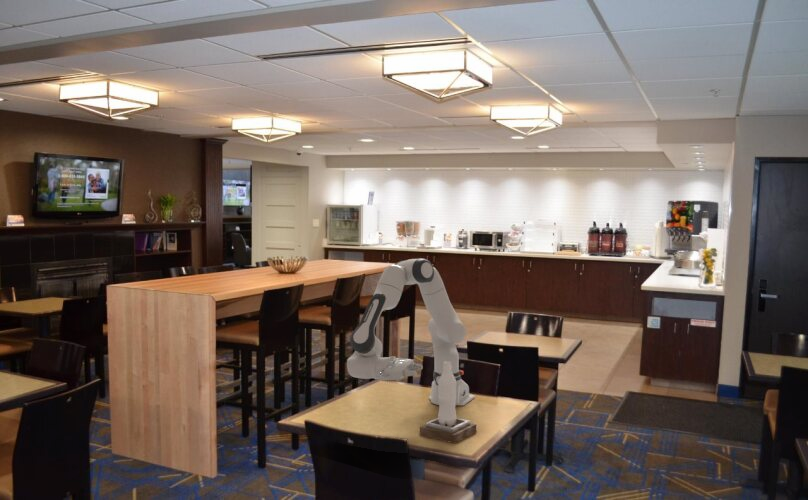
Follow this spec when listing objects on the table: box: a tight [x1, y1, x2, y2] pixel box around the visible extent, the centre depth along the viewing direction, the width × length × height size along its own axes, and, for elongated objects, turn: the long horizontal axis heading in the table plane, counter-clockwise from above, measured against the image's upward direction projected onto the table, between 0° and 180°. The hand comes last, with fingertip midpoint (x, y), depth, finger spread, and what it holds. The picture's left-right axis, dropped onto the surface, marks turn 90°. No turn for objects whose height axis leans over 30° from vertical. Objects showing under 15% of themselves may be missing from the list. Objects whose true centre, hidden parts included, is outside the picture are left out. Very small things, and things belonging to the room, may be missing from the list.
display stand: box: [419, 417, 477, 444], centre depth 253 cm, size 16×16×4 cm
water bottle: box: [437, 361, 457, 427], centre depth 252 cm, size 7×7×25 cm
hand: (419, 370), depth 256 cm, fingers open, 8 cm apart
